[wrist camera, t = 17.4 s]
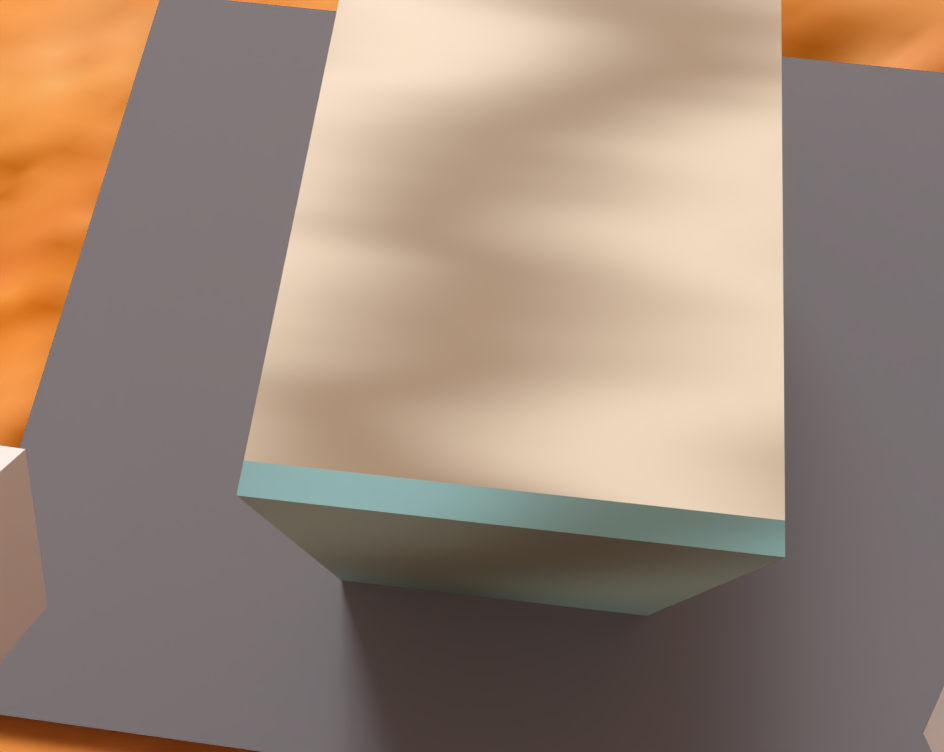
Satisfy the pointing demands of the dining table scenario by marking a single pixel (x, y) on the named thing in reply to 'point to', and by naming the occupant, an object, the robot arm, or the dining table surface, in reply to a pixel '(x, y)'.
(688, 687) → the mat
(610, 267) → the block
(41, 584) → the robot arm
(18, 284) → the dining table surface
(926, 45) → the dining table surface
